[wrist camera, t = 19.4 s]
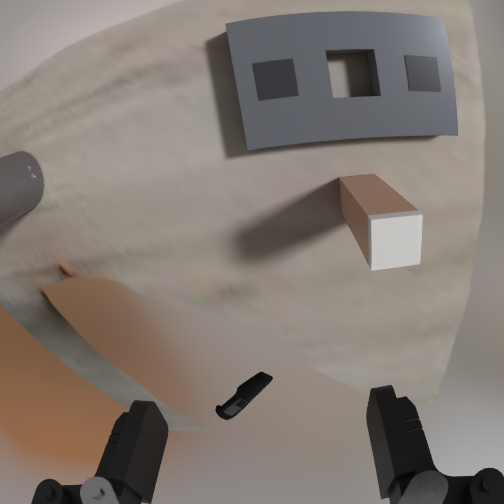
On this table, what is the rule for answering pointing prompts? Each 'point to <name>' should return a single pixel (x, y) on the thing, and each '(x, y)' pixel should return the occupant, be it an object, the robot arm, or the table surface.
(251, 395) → the electric trimmer
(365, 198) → the plug
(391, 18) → the grey flat rectangular block
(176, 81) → the table surface
